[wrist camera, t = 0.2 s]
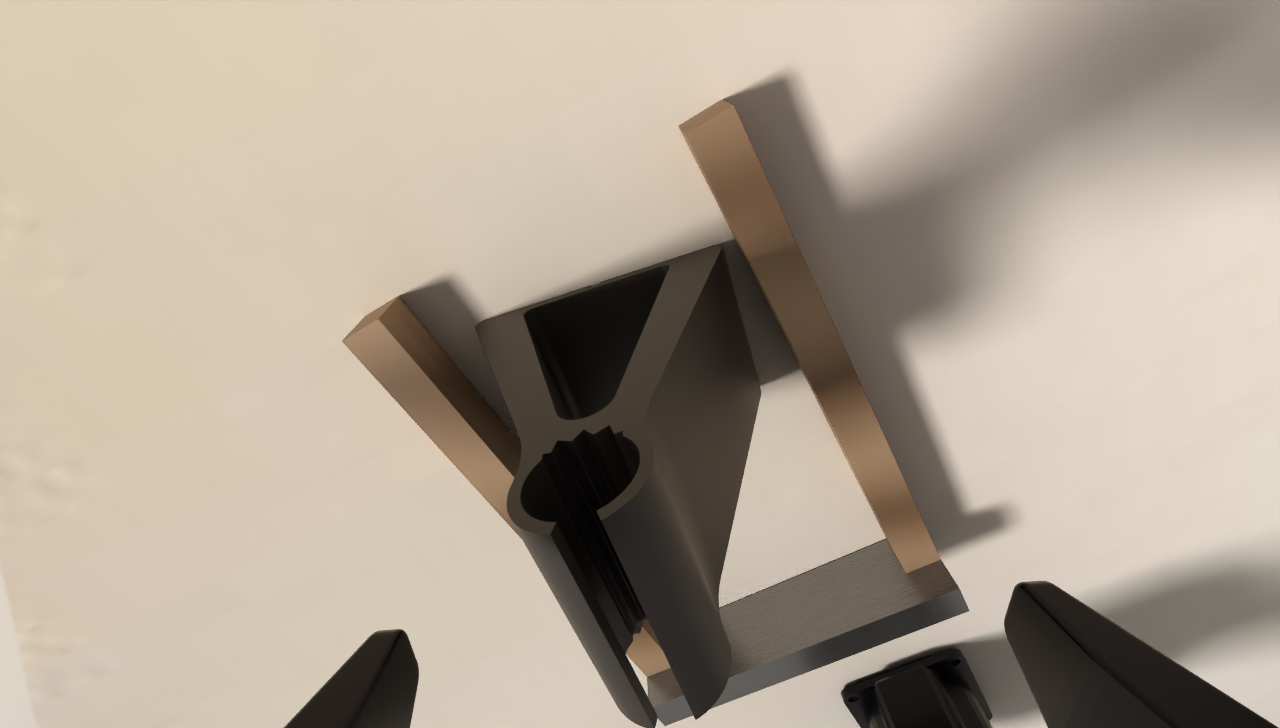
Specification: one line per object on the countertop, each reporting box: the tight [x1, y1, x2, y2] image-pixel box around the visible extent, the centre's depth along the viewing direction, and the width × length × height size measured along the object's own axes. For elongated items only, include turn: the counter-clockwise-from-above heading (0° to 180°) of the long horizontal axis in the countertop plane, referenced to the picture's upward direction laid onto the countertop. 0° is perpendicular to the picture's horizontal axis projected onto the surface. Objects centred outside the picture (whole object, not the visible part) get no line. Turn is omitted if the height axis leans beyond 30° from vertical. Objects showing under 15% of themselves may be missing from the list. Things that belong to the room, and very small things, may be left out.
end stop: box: [647, 539, 969, 726], centre depth 27 cm, size 2×14×4 cm, turn 120°
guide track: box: [342, 100, 941, 677], centre depth 23 cm, size 21×14×2 cm, turn 30°
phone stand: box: [475, 245, 761, 728], centre depth 17 cm, size 9×6×12 cm, turn 108°
